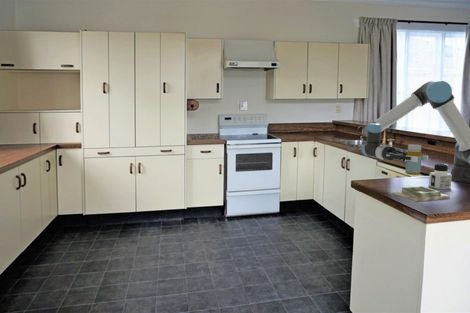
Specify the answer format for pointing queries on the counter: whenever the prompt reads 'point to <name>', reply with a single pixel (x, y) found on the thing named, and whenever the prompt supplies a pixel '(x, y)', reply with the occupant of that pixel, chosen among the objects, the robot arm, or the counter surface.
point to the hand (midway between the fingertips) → (422, 159)
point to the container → (440, 177)
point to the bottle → (414, 167)
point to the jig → (420, 193)
